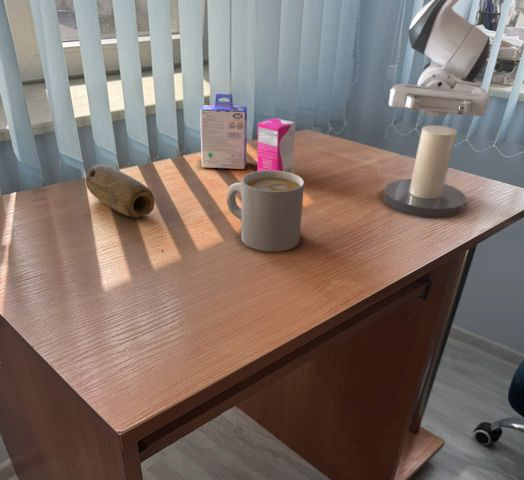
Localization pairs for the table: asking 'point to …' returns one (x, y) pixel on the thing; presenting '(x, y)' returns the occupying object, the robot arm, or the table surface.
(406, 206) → the slate plate
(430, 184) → the cream canister
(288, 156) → the supplement box
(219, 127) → the ink cartridge box
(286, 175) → the coffee mug
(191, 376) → the table surface
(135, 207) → the stone weight
